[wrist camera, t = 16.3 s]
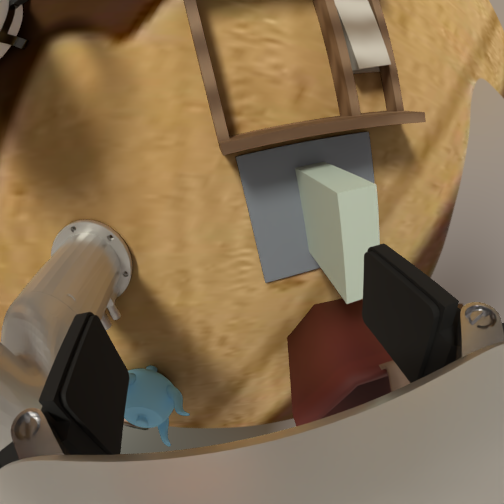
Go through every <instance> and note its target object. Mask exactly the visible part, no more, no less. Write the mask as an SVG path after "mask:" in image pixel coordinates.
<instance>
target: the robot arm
mask: <svg viewBox="0 0 504 504" xmlns="http://www.w3.org/2000/svg"><path fill="white" fill-rule="evenodd" d="M110 235H112V236H113V237H111V236H110ZM131 275H132V259H131V254H130V252H129V249H128V247H127V245H126V244H125V242H124V240H123V239H122V238H121V237H120V236H119V234H118V233H117V232H115V231H114V230H113V229H112V228H110V227H109V226H107V225H105V224H103V223H101V222H98V221H95V220H87V219H86V220H78V221H75V222H72V223H70V224H68V225H67V226H65V227H64V228H63V229H62V230H61V231H60V232H59V233H58V235H57V236H56V238H55V240H54V242H53V246H52V250H51V258H50V259H49V260H48V261H47V262H46V263H45V264H44V265H43V267H42V268H41V269H40V270H39V271H38V272H37V274H36V275H35V276H34V277H33V278H32V279H31V281H30V282H29V283H28V284H27V285H26V287H25V288H24V289H23V290H22V292H21V293H20V294H19V295H18V297H17V298H16V299H15V300H14V301H13V303H12V304H11V305H10V307H9V309H8V311H7V313H6V315H5V318H4V322H3V326H2V337H1V342H0V504H504V323H502V322H501V318H500V315H499V313H498V312H497V311H496V310H495V309H494V308H493V307H491V306H490V305H487V304H485V303H480V302H472V303H468V304H466V305H465V306H463V308H462V309H461V310H460V309H459V308H458V307H457V306H458V302H459V301H458V300H457V299H456V298H454V297H453V296H452V295H451V294H449V293H448V292H447V291H446V290H445V289H443V288H442V287H441V286H440V285H438V284H437V283H436V282H435V281H433V280H432V279H431V278H430V277H428V276H427V275H426V274H424V273H423V272H422V271H421V270H419V269H418V268H417V267H415V266H414V265H413V264H411V263H410V262H409V261H407V260H406V259H405V258H403V257H402V256H401V255H399V254H398V253H397V252H395V251H394V250H392V249H391V248H390V247H388V246H387V245H385V244H380V245H376V246H372V247H369V248H368V251H367V252H366V253H365V254H364V278H363V304H362V318H363V321H364V323H365V324H366V326H367V327H368V328H369V329H370V331H371V332H372V333H373V335H374V336H375V337H376V338H377V340H378V341H379V342H380V344H381V345H382V346H383V347H384V349H385V350H386V351H387V353H388V354H389V355H390V357H391V358H392V359H393V361H394V362H395V363H396V364H397V366H398V367H399V368H400V370H401V371H402V372H403V374H404V375H405V376H406V378H407V379H408V380H409V382H410V384H408V385H406V386H404V387H402V388H399V389H397V390H395V391H393V392H390V393H388V394H386V395H384V396H381V397H379V398H376V399H374V400H372V401H369V402H367V403H364V404H362V405H359V406H356V407H354V408H351V409H348V410H346V411H343V412H340V413H337V414H334V415H331V416H328V417H325V418H322V419H319V420H316V421H313V422H310V423H307V424H303V425H300V426H296V427H293V428H289V429H286V430H282V431H278V432H274V433H271V434H266V435H262V436H258V437H254V438H249V439H244V440H239V441H234V442H229V443H224V444H218V445H212V446H206V447H199V448H192V449H184V450H176V451H166V452H156V453H141V454H120V450H121V440H122V430H123V422H124V414H125V406H126V399H127V392H128V385H129V373H128V370H127V368H126V366H125V365H124V363H123V361H122V359H121V358H120V356H119V354H118V352H117V351H116V349H115V347H114V345H113V343H112V341H111V340H110V338H109V336H108V334H107V332H106V330H107V329H109V328H110V327H111V326H112V323H111V322H110V320H109V318H108V316H107V314H105V310H106V308H108V310H109V313H110V315H111V317H112V318H113V320H117V319H119V318H120V317H121V314H120V312H119V310H118V308H116V306H115V300H116V298H117V297H119V296H120V295H121V294H122V293H123V292H124V291H125V290H126V288H127V286H128V284H129V282H130V279H131Z"/></svg>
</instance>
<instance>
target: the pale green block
mask: <svg viewBox="0 0 504 504" xmlns="http://www.w3.org/2000/svg"><path fill="white" fill-rule="evenodd" d="M295 171H296V176H297V181H298V187H299V193H300V198H301V204H302V210H303V216H304V222H305V228H306V235H307V241H308V248H309V252H310V254H311V255H312V256H313V258H314V259H315V261H316V262H317V263H318V265H319V266H320V267H321V269H322V270H323V271H324V273H325V274H326V276H327V277H328V278H329V280H330V281H331V283H332V284H333V285H334V287H335V288H336V290H337V291H338V292H339V294H340V295H341V297H342V298H343V299H344V301H345V302H346V304H349V303H352V302H355V301H358V300H361V299H363V278H364V254H365V253H366V252H367V251H368V248H369V247H372V246H376V245H380V239H379V216H378V200H377V187H376V184H374V183H372V182H370V181H368V180H366V179H363V178H361V177H359V176H357V175H354V174H352V173H350V172H348V171H345V170H343V169H341V168H338V167H336V166H333V165H331V164H329V163H326V162H321V163H316V164H311V165H306V166H302V167H297V168H295Z"/></svg>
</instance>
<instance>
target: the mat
mask: <svg viewBox="0 0 504 504" xmlns="http://www.w3.org/2000/svg"><path fill="white" fill-rule="evenodd" d="M236 161H237V165H238V169H239V173H240V177H241V182H242V186H243V190H244V194H245V198H246V203H247V207H248V211H249V215H250V219H251V224H252V228H253V232H254V236H255V241H256V245H257V249H258V253H259V258H260V262H261V266H262V271H263V275H264V279H265V282H266V283H267V282H271V281H274V280H278V279H282V278H285V277H289V276H293V275H296V274H300V273H303V272H307V271H310V270H314V269H317V268H321V267H320V266H319V265H318V263H317V262H316V261H315V259H314V258H313V256H312V255H311V254H310V252H309V248H308V241H307V235H306V228H305V222H304V216H303V210H302V204H301V198H300V193H299V187H298V181H297V176H296V171H295V168H297V167H302V166H306V165H311V164H316V163H321V162H326V163H329V164H331V165H333V166H336V167H338V168H341V169H343V170H345V171H348V172H350V173H352V174H354V175H357V176H359V177H361V178H363V179H366V180H368V181H370V182H372V183H374V172H373V162H372V153H371V145H370V137H369V132H360V133H353V134H346V135H340V136H333V137H327V138H322V139H316V140H310V141H305V142H300V143H295V144H290V145H285V146H280V147H275V148H270V149H266V150H261V151H257V152H253V153H248V154H244V155H240V156H236ZM374 184H375V183H374Z"/></svg>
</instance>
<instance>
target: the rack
mask: <svg viewBox="0 0 504 504" xmlns="http://www.w3.org/2000/svg"><path fill="white" fill-rule="evenodd" d="M368 2H369V4H370V7H371V9H372V12H373V14H374V17H375V19H376V22H377V24H378V27H379V30H380V32H381V35H382V38H383V41H384V44H385V47H386V49H387V53H388V56H389V59H390V62H391V65H385V66H379V69H380V74H381V79H382V84H383V90H384V95H385V101H386V108H387V111H380V112H369V113H360V107H359V102H358V96H357V91H356V86H355V81H354V76H353V71H352V66H351V62H350V58H349V53H348V49H347V45H346V41H345V37H344V33H343V30H342V26H341V22H340V19H339V15H338V12H337V9H336V5H335V2H334V0H313V3H314V6H315V10H316V13H317V16H318V20H319V23H320V27H321V31H322V35H323V38H324V42H325V46H326V50H327V54H328V59H329V63H330V67H331V72H332V76H333V81H334V86H335V91H336V96H337V101H338V106H339V112H340V116H335V117H328V118H322V119H315V120H309V121H303V122H297V123H291V124H286V125H281V126H275V127H270V128H266V129H261V130H256V131H251V132H247V133H243V134H238V135H234V136H230V137H229V134H228V130H227V126H226V122H225V118H224V114H223V110H222V105H221V101H220V97H219V93H218V89H217V85H216V81H215V77H214V73H213V69H212V65H211V60H210V56H209V52H208V48H207V44H206V40H205V36H204V32H203V28H202V24H201V20H200V16H199V12H198V8H197V4H196V0H184V4H185V8H186V13H187V17H188V21H189V25H190V29H191V33H192V37H193V41H194V46H195V50H196V54H197V58H198V62H199V66H200V70H201V74H202V78H203V82H204V86H205V91H206V95H207V99H208V103H209V107H210V111H211V115H212V119H213V123H214V127H215V131H216V135H217V139H218V143H219V147H220V150H221V152H222V154H223V155H227V154H231V153H235V152H239V151H243V150H247V149H252V148H256V147H260V146H265V145H270V144H274V143H279V142H284V141H289V140H294V139H299V138H305V137H310V136H316V135H322V134H328V133H334V132H340V131H347V130H354V129H361V128H369V127H377V126H386V125H395V124H406V123H418V122H426V121H425V113H424V112H412V111H404V109H403V102H402V96H401V90H400V84H399V78H398V73H397V68H396V63H395V59H394V54H393V50H392V46H391V42H390V38H389V34H388V30H387V26H386V23H385V19H384V16H383V12H382V9H381V6H380V3H379V0H368Z"/></svg>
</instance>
